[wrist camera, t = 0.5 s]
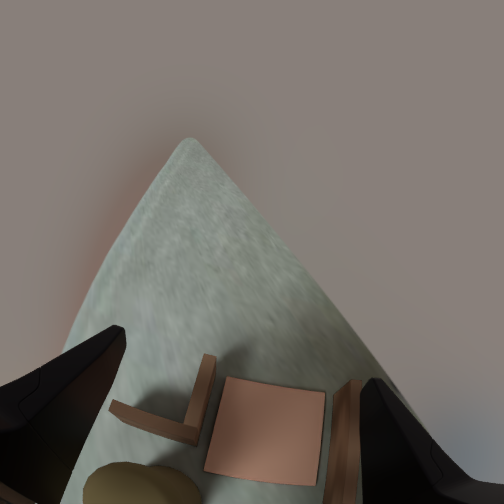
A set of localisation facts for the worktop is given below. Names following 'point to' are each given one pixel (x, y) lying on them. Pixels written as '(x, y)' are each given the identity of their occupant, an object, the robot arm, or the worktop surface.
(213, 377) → the bent channel
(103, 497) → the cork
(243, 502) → the worktop surface
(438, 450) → the robot arm
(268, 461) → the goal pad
